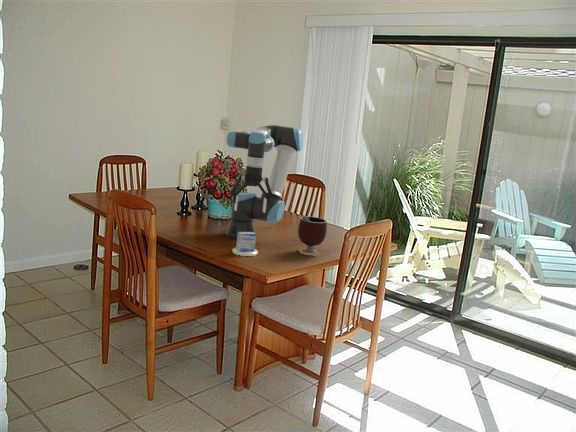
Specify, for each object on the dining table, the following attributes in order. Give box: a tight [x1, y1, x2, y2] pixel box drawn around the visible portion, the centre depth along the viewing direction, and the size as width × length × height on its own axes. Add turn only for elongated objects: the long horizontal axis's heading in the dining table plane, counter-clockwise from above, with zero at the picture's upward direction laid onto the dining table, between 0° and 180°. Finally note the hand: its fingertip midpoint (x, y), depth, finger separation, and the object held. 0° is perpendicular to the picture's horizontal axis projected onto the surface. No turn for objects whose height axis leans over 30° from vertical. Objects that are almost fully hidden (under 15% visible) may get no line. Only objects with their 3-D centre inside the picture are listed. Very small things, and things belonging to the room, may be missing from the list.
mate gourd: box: [297, 214, 328, 253], centre depth 276 cm, size 16×14×20 cm
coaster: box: [232, 246, 259, 257], centre depth 264 cm, size 12×12×1 cm
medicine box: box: [235, 232, 257, 252], centre depth 263 cm, size 8×4×9 cm, turn 117°
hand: (249, 211), depth 260 cm, fingers open, 13 cm apart
